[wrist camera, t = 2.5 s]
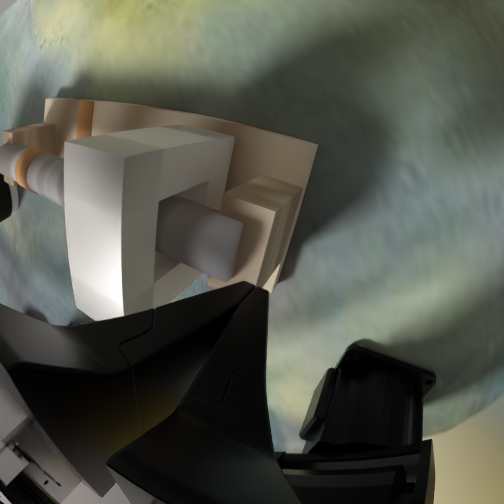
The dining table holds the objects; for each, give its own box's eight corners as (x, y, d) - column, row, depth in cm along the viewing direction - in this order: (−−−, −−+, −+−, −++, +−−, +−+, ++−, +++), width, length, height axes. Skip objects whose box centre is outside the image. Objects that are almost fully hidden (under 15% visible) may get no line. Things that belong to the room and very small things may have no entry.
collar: (235, 136, 13) (124, 157, 7) (211, 265, 17) (126, 341, 11) (181, 124, 14) (64, 141, 8) (166, 246, 17) (76, 306, 11)
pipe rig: (318, 144, 13) (277, 159, 8) (277, 284, 17) (228, 356, 12) (55, 97, 18) (-11, 107, 13) (52, 187, 22) (-7, 210, 17)
